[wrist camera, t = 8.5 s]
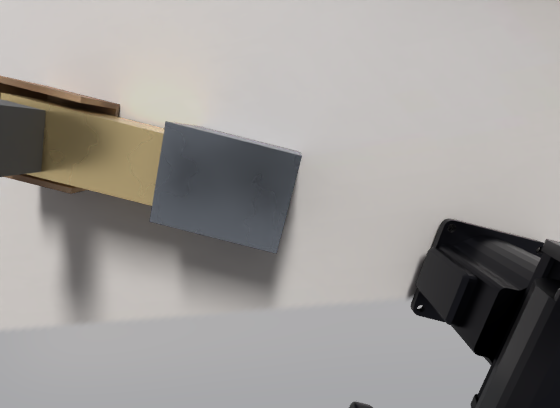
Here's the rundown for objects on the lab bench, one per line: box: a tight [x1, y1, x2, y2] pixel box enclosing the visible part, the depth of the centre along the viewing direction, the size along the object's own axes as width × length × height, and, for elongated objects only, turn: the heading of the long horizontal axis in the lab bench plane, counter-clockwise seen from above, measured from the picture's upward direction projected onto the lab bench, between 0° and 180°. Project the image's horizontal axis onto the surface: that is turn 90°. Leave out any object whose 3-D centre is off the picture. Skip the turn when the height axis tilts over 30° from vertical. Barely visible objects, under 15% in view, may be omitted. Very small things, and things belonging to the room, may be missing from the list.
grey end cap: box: [150, 122, 302, 253], centre depth 17 cm, size 6×5×5 cm
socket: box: [0, 76, 120, 194], centre depth 17 cm, size 5×5×3 cm
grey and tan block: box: [0, 93, 164, 206], centre depth 14 cm, size 9×4×10 cm, turn 76°
